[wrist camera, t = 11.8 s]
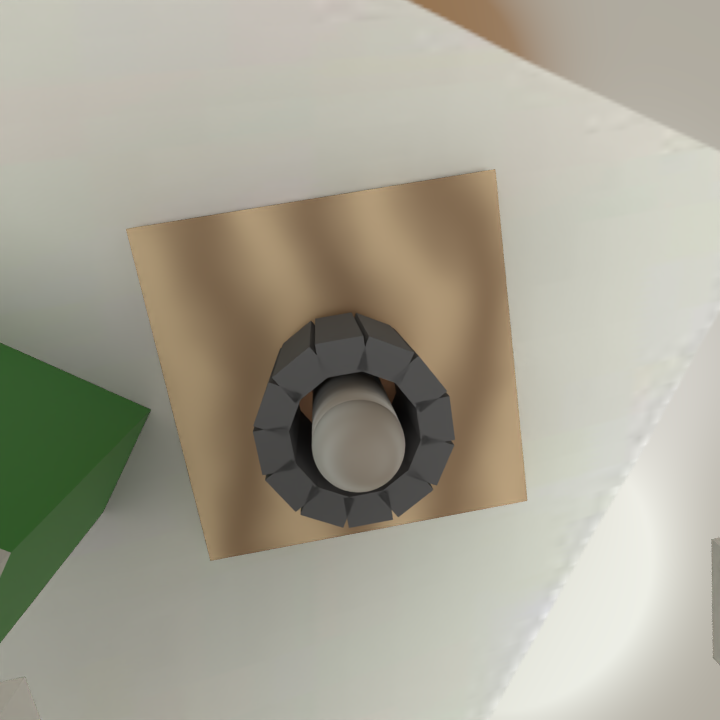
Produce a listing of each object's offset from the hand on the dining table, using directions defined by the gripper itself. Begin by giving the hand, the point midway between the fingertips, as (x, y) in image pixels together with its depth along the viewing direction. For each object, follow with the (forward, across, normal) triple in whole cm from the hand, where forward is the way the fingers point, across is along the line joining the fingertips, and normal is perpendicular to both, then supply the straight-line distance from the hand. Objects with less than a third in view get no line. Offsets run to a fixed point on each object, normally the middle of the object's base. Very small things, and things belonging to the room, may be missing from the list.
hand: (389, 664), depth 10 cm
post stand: (+23, 0, 0) cm, 23 cm away
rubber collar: (+19, 0, 0) cm, 19 cm away
